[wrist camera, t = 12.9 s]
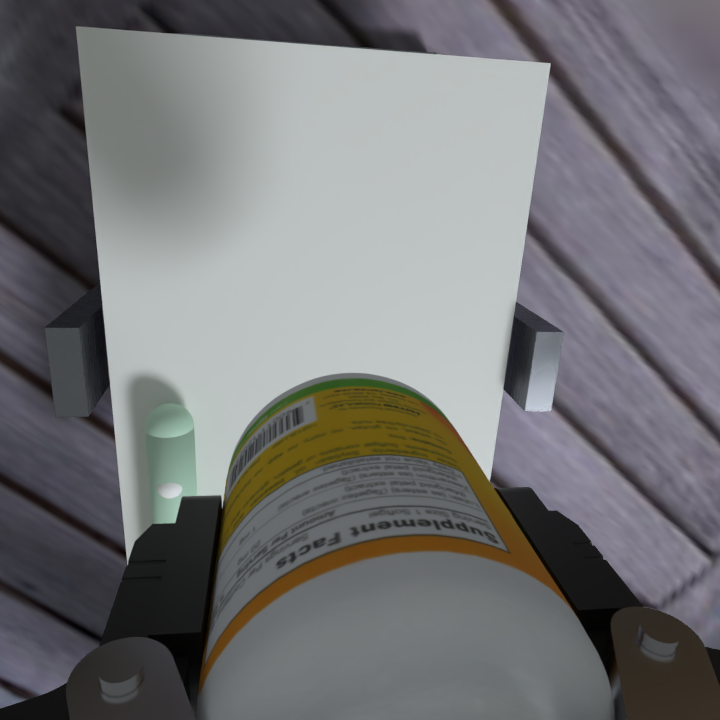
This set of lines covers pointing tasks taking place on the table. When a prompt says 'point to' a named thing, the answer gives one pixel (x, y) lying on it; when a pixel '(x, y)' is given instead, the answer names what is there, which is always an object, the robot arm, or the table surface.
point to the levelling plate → (297, 236)
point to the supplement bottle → (381, 575)
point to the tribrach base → (91, 372)
